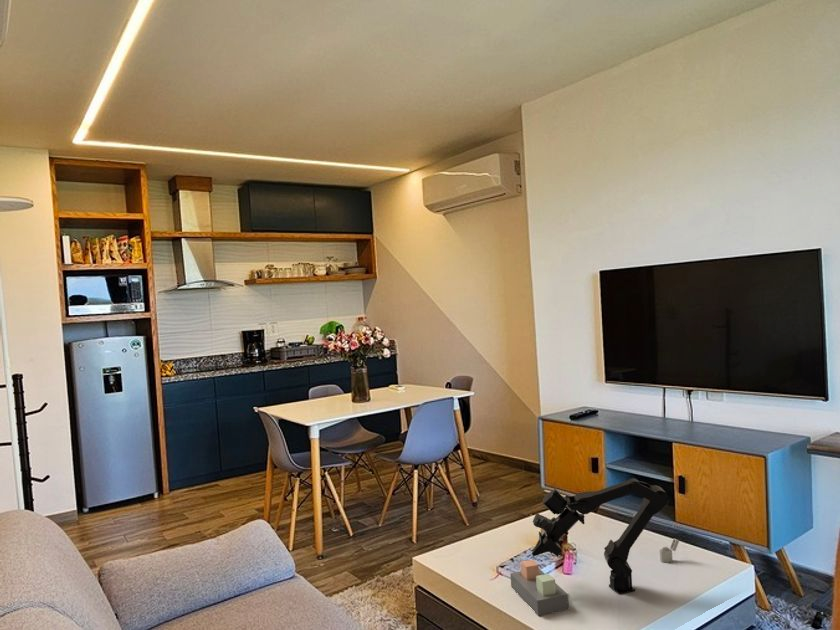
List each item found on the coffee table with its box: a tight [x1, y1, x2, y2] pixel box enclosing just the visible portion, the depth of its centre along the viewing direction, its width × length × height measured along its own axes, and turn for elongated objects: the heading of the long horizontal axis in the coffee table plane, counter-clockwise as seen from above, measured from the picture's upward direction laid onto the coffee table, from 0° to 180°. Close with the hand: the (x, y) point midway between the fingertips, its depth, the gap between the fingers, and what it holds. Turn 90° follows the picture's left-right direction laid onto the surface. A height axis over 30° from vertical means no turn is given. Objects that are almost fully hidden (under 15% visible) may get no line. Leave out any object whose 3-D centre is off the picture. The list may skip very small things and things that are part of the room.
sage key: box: [536, 573, 556, 596], centre depth 197 cm, size 5×5×6 cm
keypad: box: [509, 568, 570, 617], centre depth 203 cm, size 11×21×5 cm, turn 15°
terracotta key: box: [520, 559, 540, 581], centre depth 209 cm, size 5×5×6 cm
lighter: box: [659, 538, 680, 563], centre depth 225 cm, size 7×2×8 cm, turn 96°
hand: (532, 554), depth 208 cm, fingers closed
